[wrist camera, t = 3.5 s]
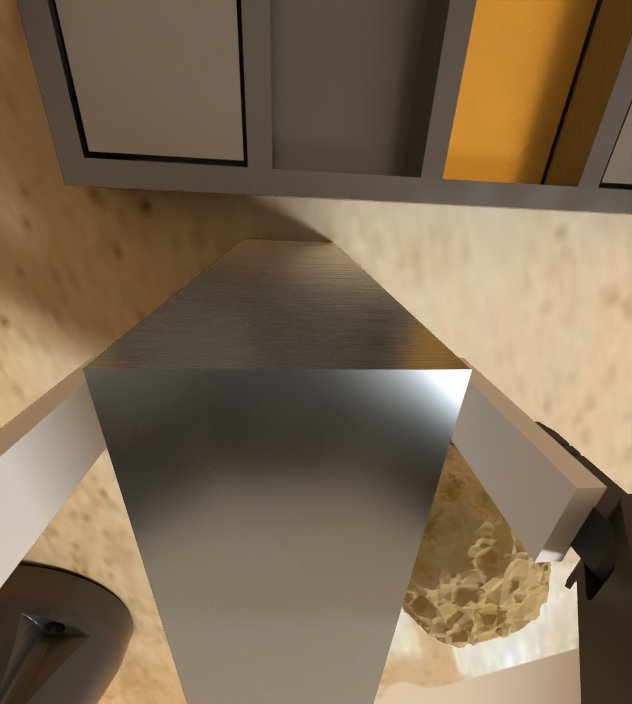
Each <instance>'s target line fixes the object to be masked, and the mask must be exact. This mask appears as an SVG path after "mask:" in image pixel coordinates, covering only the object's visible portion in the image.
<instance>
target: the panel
mask: <svg viewBox="0 0 632 704" xmlns="http://www.w3.org/2000/svg"><path fill="white" fill-rule="evenodd" d="M82 369H83V372H84V375H85V378H86V382H87V385H88V388H89V391H90V394H91V398H92V401H93V404H94V407H95V410H96V414H97V417H98V420H99V423H100V426H101V430H102V433H103V436H104V439H105V442H106V446H107V449H108V452H109V455H110V458H111V462H112V465H113V468H114V471H115V474H116V478H117V481H118V484H119V487H120V490H121V493H122V497H123V500H124V503H125V506H126V509H127V513H128V516H129V519H130V522H131V525H132V529H133V532H134V535H135V538H136V541H137V545H138V548H139V551H140V554H141V557H142V561H143V564H144V567H145V570H146V573H147V577H148V580H149V583H150V586H151V589H152V593H153V596H154V599H155V602H156V605H157V609H158V612H159V615H160V618H161V621H162V625H163V628H164V631H165V634H166V637H167V641H168V644H169V647H170V650H171V653H172V657H173V660H174V663H175V666H176V669H177V673H178V676H179V679H180V682H181V685H182V689H183V692H184V695H185V698H186V701H187V704H373V703H374V700H375V696H376V693H377V689H378V686H379V683H380V679H381V676H382V672H383V669H384V666H385V662H386V659H387V655H388V652H389V649H390V645H391V642H392V639H393V635H394V632H395V628H396V625H397V622H398V618H399V615H400V611H401V608H402V605H403V601H404V598H405V594H406V591H407V588H408V584H409V581H410V577H411V574H412V571H413V567H414V564H415V560H416V557H417V554H418V550H419V547H420V543H421V540H422V537H423V533H424V530H425V526H426V523H427V520H428V516H429V513H430V509H431V506H432V503H433V499H434V496H435V492H436V489H437V486H438V482H439V479H440V475H441V472H442V469H443V465H444V462H445V458H446V455H447V452H448V448H449V445H450V441H451V438H452V435H453V431H454V428H455V424H456V421H457V418H458V414H459V411H460V407H461V404H462V401H463V397H464V394H465V390H466V387H467V384H468V380H469V377H470V373H471V369H470V368H469V367H468V366H467V365H466V364H465V363H464V362H462V361H461V360H460V359H459V358H458V357H457V356H456V355H455V354H454V353H453V352H452V351H451V350H449V349H448V348H447V347H446V346H445V345H444V344H443V343H442V342H441V341H440V340H439V339H438V338H436V337H435V336H434V335H433V334H432V333H431V332H430V331H429V330H428V329H427V328H426V327H425V326H423V325H422V324H421V323H420V322H419V321H418V320H417V319H416V318H415V317H414V316H413V315H412V314H411V313H409V312H408V311H407V310H406V309H405V308H404V307H403V306H402V305H401V304H400V303H399V302H398V301H396V300H395V299H394V298H393V297H392V296H391V295H390V294H389V293H388V292H387V291H386V290H385V289H383V288H382V287H381V286H380V285H379V284H378V283H377V282H376V281H375V280H374V279H373V278H372V277H370V276H369V275H368V274H367V273H366V272H365V271H364V270H363V269H362V268H361V267H360V266H359V265H358V264H356V263H355V262H354V261H353V260H352V259H351V258H350V257H349V256H348V255H347V254H346V253H345V252H343V251H342V250H341V249H340V248H339V247H338V246H337V245H336V244H335V243H334V242H309V241H284V240H258V239H243V240H242V241H241V242H240V243H238V244H237V245H236V246H235V247H233V248H232V249H231V250H230V251H228V252H227V253H226V254H225V255H223V256H222V257H221V258H220V259H218V260H217V261H216V262H215V263H213V264H212V265H211V266H210V267H208V268H207V269H206V270H205V271H203V272H202V273H201V274H200V275H198V276H197V277H196V278H195V279H193V280H192V281H191V282H190V283H188V284H187V285H186V286H185V287H183V288H182V289H181V290H180V291H178V292H177V293H176V294H175V295H173V296H172V297H171V298H170V299H168V300H167V301H166V302H165V303H163V304H162V305H161V306H160V307H159V308H157V309H156V310H155V311H154V312H152V313H151V314H150V315H149V316H147V317H146V318H145V319H144V320H142V321H141V322H140V323H139V324H137V325H136V326H135V327H134V328H132V329H131V330H130V331H129V332H127V333H126V334H125V335H124V336H122V337H121V338H120V339H119V340H117V341H116V342H115V343H114V344H112V345H111V346H110V347H109V348H107V349H106V350H105V351H104V352H102V353H101V354H100V355H99V356H97V357H96V358H95V359H94V360H92V361H91V362H90V363H89V364H87V365H86V366H85V367H84V368H82Z"/></svg>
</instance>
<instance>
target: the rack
mask: <svg viewBox="0 0 632 704" xmlns="http://www.w3.org/2000/svg"><path fill="white" fill-rule="evenodd" d="M16 1H17V5H18V8H19V12H20V16H21V20H22V24H23V27H24V31H25V35H26V39H27V43H28V46H29V50H30V54H31V58H32V61H33V65H34V69H35V73H36V77H37V80H38V84H39V88H40V92H41V96H42V99H43V103H44V107H45V111H46V114H47V118H48V122H49V126H50V130H51V133H52V137H53V141H54V145H55V149H56V152H57V156H58V160H59V164H60V167H61V171H62V175H63V179H64V183H65V185H77V186H90V187H102V188H120V189H140V190H159V191H179V192H198V193H218V194H237V195H257V196H276V197H296V198H315V199H335V200H354V201H374V202H393V203H413V204H432V205H452V206H471V207H491V208H510V209H530V210H549V211H569V212H588V213H608V214H627V215H632V0H16Z"/></svg>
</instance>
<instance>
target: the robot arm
mask: <svg viewBox="0 0 632 704" xmlns="http://www.w3.org/2000/svg"><path fill="white" fill-rule="evenodd" d="M97 356H99V355H94V356H93V357H92V358H90V359H89V360H88V361H86V362H85V363H84V364H83V365H81V366H80V367H79V368H78V369H76V370H75V371H74V372H72V373H71V374H70V375H69V376H67V377H66V378H65V379H63V380H62V381H61V382H60V383H58V384H57V385H56V386H55V387H53V388H52V389H51V390H49V391H48V392H47V393H46V394H44V395H43V396H42V397H40V398H39V399H38V400H37V401H35V402H34V403H33V404H31V405H30V406H29V407H28V408H26V409H25V410H24V411H23V412H21V413H20V414H19V415H17V416H16V417H15V418H14V419H12V420H11V421H10V422H8V423H7V424H6V425H5V426H3V427H2V428H1V429H0V704H98V702H99V700H100V699H101V697H102V696H103V694H104V693H105V691H106V689H107V688H108V686H109V685H110V683H111V681H112V680H113V678H114V677H115V675H116V674H117V672H118V670H119V667H120V665H121V663H122V661H123V658H124V655H125V652H126V650H127V647H128V644H129V642H130V639H131V636H132V633H133V620H132V617H131V615H130V613H129V611H128V609H127V608H126V607H125V606H124V605H123V603H122V602H121V601H120V600H118V599H117V598H116V597H115V596H114V595H112V594H111V593H109V592H108V591H106V590H105V589H103V588H101V587H99V586H98V585H96V584H94V583H91V582H89V581H87V580H84V579H82V578H79V577H76V576H74V575H70V574H67V573H64V572H60V571H56V570H51V569H46V568H40V567H34V566H25V565H18V564H19V563H20V561H21V560H22V559H23V557H24V556H25V555H26V553H27V552H28V551H29V549H30V548H31V547H32V545H33V544H34V543H35V541H36V540H37V539H38V537H39V536H40V535H41V533H42V532H43V531H44V529H45V528H46V527H47V525H48V524H49V523H50V521H51V520H52V519H53V517H54V516H55V515H56V513H57V512H58V511H59V509H60V508H61V507H62V505H63V504H64V503H65V501H66V500H67V499H68V497H69V496H70V495H71V493H72V492H73V491H74V489H75V488H76V487H77V485H78V484H79V483H80V481H81V480H82V479H83V477H84V476H85V475H86V473H87V472H88V471H89V469H90V468H91V467H92V465H93V464H94V463H95V461H96V460H97V459H98V457H99V456H100V455H101V453H102V452H103V451H104V449H105V448H106V447H107V446H106V442H105V439H104V436H103V433H102V430H101V426H100V423H99V420H98V417H97V414H96V410H95V407H94V404H93V401H92V398H91V394H90V391H89V388H88V385H87V382H86V378H85V375H84V372H83V369H82V368H84V367H85V366H86V365H87V364H89V363H90V362H91V361H92V360H94V359H95V358H96V357H97ZM459 359H460V360H461V361H462V362H464V363H465V364H466V365H467V366H468V367H469V368H470V369H471V373H470V377H469V380H468V384H467V387H466V390H465V394H464V397H463V401H462V404H461V407H460V411H459V414H458V418H457V421H456V424H455V428H454V431H453V435H452V438H451V440H452V441H453V443H454V444H455V446H456V447H457V449H458V450H459V452H460V453H461V455H462V456H463V458H464V459H465V461H466V462H467V464H468V465H469V466H470V468H471V469H472V471H473V472H474V474H475V475H476V477H477V478H478V480H479V481H480V483H481V484H482V486H483V487H484V489H485V490H486V492H487V493H488V494H489V496H490V497H491V499H492V500H493V502H494V503H495V505H496V506H497V508H498V509H499V511H500V512H501V514H502V515H503V517H504V518H505V520H506V521H507V522H508V524H509V525H510V527H511V528H512V530H513V531H514V533H515V534H516V536H517V537H518V539H519V540H520V542H521V543H522V545H523V546H524V548H525V549H526V551H527V552H528V553H529V555H530V556H531V558H532V559H533V561H534V562H535V563H537V562H556V561H562V560H563V558H564V556H565V555H566V553H567V552H568V550H569V548H570V547H572V548H573V549H574V550H575V552H576V553H577V554H578V555H579V557H580V558H581V559H580V561H579V562H578V564H577V565H576V567H575V568H574V570H573V571H572V573H571V574H570V576H569V578H568V579H567V581H566V584H565V587H567V588H569V589H570V588H571V587H572V586H573V584H574V583H575V582H577V599H578V627H579V654H580V681H581V704H632V494H627V493H626V492H625V491H624V490H622V489H621V488H620V487H619V486H618V485H617V484H616V483H614V482H613V481H612V480H611V479H610V478H609V477H607V476H606V475H605V474H604V473H603V472H602V471H600V470H599V469H598V468H597V467H596V466H595V465H594V464H592V463H591V462H590V461H589V460H588V459H587V458H585V457H584V456H581V453H580V452H579V451H577V450H576V449H575V448H574V447H573V446H570V445H569V443H568V442H567V441H566V440H565V439H563V438H562V437H561V436H560V435H559V434H558V433H557V432H555V431H554V430H552V429H550V428H548V427H547V426H545V425H543V424H541V423H540V422H534V421H533V420H532V419H531V418H530V417H529V416H528V415H526V414H525V413H524V412H523V411H522V410H521V409H520V408H519V407H518V406H516V405H515V404H514V403H513V402H512V401H511V400H510V399H509V398H508V397H506V396H505V395H504V394H503V393H502V392H501V391H500V390H499V389H498V388H496V387H495V386H494V385H493V384H492V383H491V382H490V381H489V380H488V379H486V378H485V377H484V376H483V375H482V374H481V373H480V372H479V371H477V370H476V369H475V368H474V367H473V366H472V365H471V364H470V363H469V362H467V361H466V360H465V359H464V358H459Z"/></svg>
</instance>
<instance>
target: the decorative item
mask: <svg viewBox="0 0 632 704" xmlns="http://www.w3.org/2000/svg"><path fill="white" fill-rule="evenodd" d="M550 573H551V569H550V562H537V563H535V562H534V561H533V559H532V558H531V556H530V555H529V553H528V552H527V551H526V549H525V548H524V546H523V545H522V543H521V542H520V540H519V539H518V537H517V536H516V534H515V533H514V531H513V530H512V528H511V527H510V525H509V524H508V522H507V521H506V520H505V518H504V517H503V515H502V514H501V512H500V511H499V509H498V508H497V506H496V505H495V503H494V502H493V500H492V499H491V497H490V496H489V494H488V493H487V492H486V490H485V489H484V487H483V486H482V484H481V483H480V481H479V480H478V478H477V477H476V475H475V474H474V472H473V471H472V469H471V468H470V466H469V465H468V464H467V462H466V461H465V459H464V458H463V456H462V455H461V453H460V452H459V450H458V449H457V447H456V446H455V445H451V444H450V445H449V448H448V452H447V455H446V458H445V462H444V465H443V469H442V472H441V475H440V479H439V482H438V486H437V489H436V492H435V496H434V499H433V503H432V506H431V509H430V513H429V516H428V520H427V523H426V526H425V530H424V533H423V537H422V540H421V543H420V547H419V550H418V554H417V557H416V560H415V564H414V567H413V571H412V574H411V577H410V581H409V584H408V588H407V591H406V594H405V598H404V601H403V605H402V607H403V609H404V611H405V612H406V613H408V614H409V615H410V616H411V617H412V618H413V619H414V620H415V621H416V622H417V624H418V625H420V626H422V628H423V629H424V630H425V631H426V632H427V633H428V634H429V635H430V636H431V637H432V638H433V637H435V638H437V639H438V640H439V641H441V642H443V643H446V644H451V645H453V646H455V647H458V648H462V647H464V646H465V645H466V644H468V643H470V644H471V645H475V644H476V643H478V642H483V641H487V640H491V639H494V638H498V637H502V638H505V637H508V635H509V634H511V633H514V632H516V631H519V630H520V629H522V628H523V627H525V626H526V625H527V624H528V623H529V622H531V621H532V620H535V619H537V618H538V616H539V614H540V607H541V605H542V604H544V603H545V602H547V597H548V591H549V576H550Z"/></svg>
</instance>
